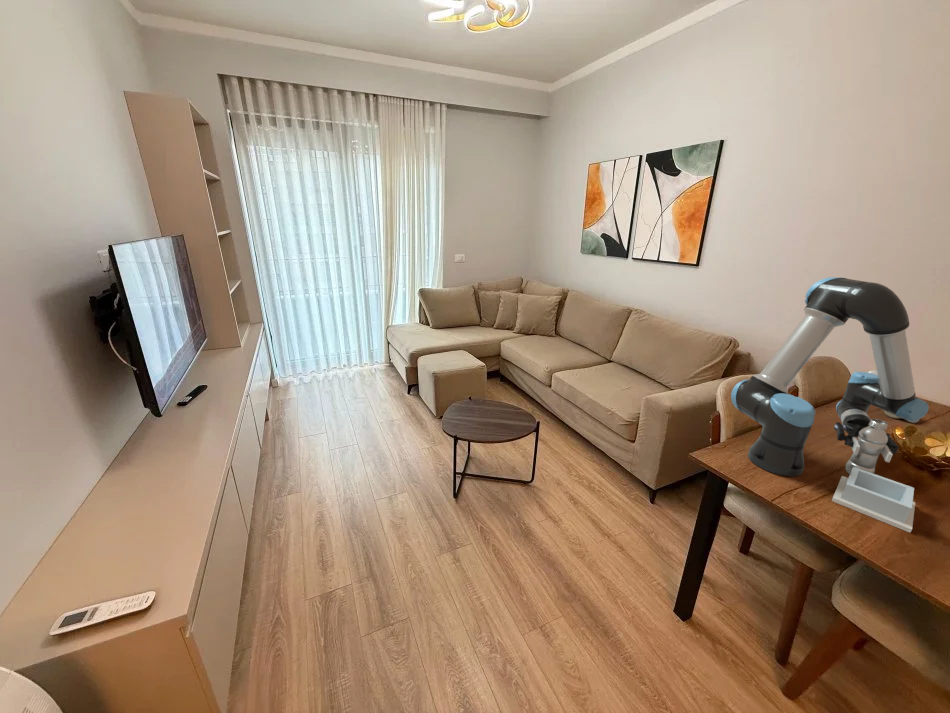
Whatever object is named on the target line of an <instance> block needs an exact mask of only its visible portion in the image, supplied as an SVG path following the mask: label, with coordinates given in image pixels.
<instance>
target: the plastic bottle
mask: <svg viewBox="0 0 950 713" xmlns="http://www.w3.org/2000/svg"><path fill="white" fill-rule="evenodd" d="M870 419H871V421H870V423H869V426H868V427H865V428H863V429H861V430H860V431H859V433H858V437H857V438H856V439H857V441H858V443H859V445H860V449H859V452H858V454H854V452H852V455H851V456H850V458H849V459H848V461H847V462H846V464H845V470H846V472H847V473H848V474H849V475H850V473H851V470H852V468H853V467H856V468H858V469H861V470H864V471H867V472H870V473H873V474H875V472H876V465H877V461H878V458H879V456H880V454H881V450H882V449H883V448H884V446H885V445H886V443H887V441H888V437H887V435H886V431H885V430H887V428H888V425H889V424H888V422H887V421H885V420H882V419H877V418H870Z"/></svg>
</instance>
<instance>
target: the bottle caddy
mask: <svg viewBox="0 0 950 713" xmlns="http://www.w3.org/2000/svg"><path fill="white" fill-rule="evenodd" d="M914 491H915V487H913V486H911V485H906V484H904V483H901V482H899V481H895V480H893V479H890V478H887V477H884V476H881V475H879V474H876V473H874V474H873V473H870V472H867V471H864V470H861V469H858V468H856V467H853V468H852V470H851V473H850V474H849V475H848V477H847V476H844V475H841V477H840V480H839V481H838V485H837V487H836V489H835V492H834V494H833V496H832V499H831V502H833V503H835V504H838V505H840V506H843V507H846V508H847V509H850V510H853V511H856V512H857V513H860V514H863V515H866V516H868V517H870V518H873V519H875V520H877V521H880V522H883V523H884V524H888V525H889V526H892V527H895V528H897V529H899V530H902V531H905V532H908V533H911V532H912V530H913V524H914V518H915V517H914V515H915V507H916V502H915V501H914V495H915V494H914V493H915V492H914Z"/></svg>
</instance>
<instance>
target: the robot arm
mask: <svg viewBox="0 0 950 713" xmlns="http://www.w3.org/2000/svg"><path fill="white" fill-rule="evenodd" d="M804 302H805V305H806V306H805V307H804V308H803V311H804V315H805V316H804V317H803V318H802V319H801V321H800V322H799V323H798V325H797V326H796V327H795V328H794V330H793V331H792V333H790V335H789V336H788V337H787V339H785V341H784V343H783V344H782V345H781V346H780V347H779V349H778V350H777V351H776V353H775V354H774V355H773V357H772V358H771V359H770V360H769V361H768V363H767V364H766V366H765V367H764V368H763V370H762V371H761V372H760V373H756V374H752V376H751V377H750V378H749V379H743V380H742V381H738V382H737V383H736V384H735V385H734V387H733V388H732V391H731V394H730V399H731V403H732V405H733V407H735V408H736V409H737V410H738V411H739V412H740V413H741V414H743V415H746V416H748V417H749V418H750V419H752V420H753V421H755V422H756V423H758V424H759V425H761V426H762V428H761V432H760V435H759V437H758V439H756V441H755V442H754V443H753V444H752V445H751V446H750V447H749V450H748V453H747V458H748V459H749V460H750V461H751V462H752V463H753V464H754V465H756V466H757V467H759V468H760V469H762V470H765V471H768V472H770V473H772V474H776V475H780V476H786V477H797V476H801V475H802V474H803V472H804V470H805V466H806V465H805V460H804V459H805V458H804V447H805V445H806V444H807V440H808V437H809V434H810V431H811V429H812V426H813V424H814V422H815V415H816V409H815V407H814V406H813V405H812V404H811V403H810V402H809V401H807V400H805V399H803V398H802V397H799V396H794V394H789V393H788V388H787V387H788V386H789V384H790V383H791V382H792V380H793V379H794V378H795V377H796V376H797V375H798V374H799V372H800V371H801V369H802V368H803V367H804V366H805V364H807V362H808V361H809V360H810V358H811V357H812V356H813V355H814V353H815V352H816V351H817V350H818V349H819V347H820V346H821V344H822V343H823V342H824V341H825V340H826V339H827V337H828V336H829V335H830V334H831V332H832V331H833V330H834V329H835V328H836V327H841V326H844V325H846V322H848V320H850V319H852V320H856V321H859V322H860V324H862V328H863V330H864V332H865V333H866V334H868V335H869V339H870V343H871V348H872V354H873V357H874V358H873V359H874V363H875V368H876V371H877V373H878V376H877V375H875V374H872V373H868V372H867V371H855V372H853V373H852V374H851V376H850V378H849V380H848V381H847V385H846V387H845V390H844V394H843V396H842V398H841V400H839V401H838V402H837V404H836V405H835V406H836V407H835V411H836V414H837V415H838V417H839V420H840V421H841V422H838V421H837V422H835V424H834V427H833V430H835V431H836V437H837V440H838V441H841V442H842V441H844V444H843V445H845V446H847V447H850V448H851V449H852V453H854V454H858V452H859V449H860V445H859V443H858V441H857V439H858V433H859V431H860V430H861V429H863V428H865V427H868V426H869V423H870V421H871V419H872V418H871V417H870V416H869V415H868V411H869V409H870V407H871V405H872V406H873V407H876V408H879V409H880V410H882V411H884V410H885V411H887V412H889V413H891V414H893V415H896V416H897V417H901V418H900V419H904V420H905V419H906V421H907V420H909V421H915V420H918V419H919V420H920V419H922V418H923V417H925V416H926V415H927V414H928V411H929V409H930V408H929V404H928V403H927V402H926V401H925V400H922V399H921V398H919V397H917V396H916V390H915V383H914V377H913V371H912V365H911V359H910V353H909V346H908V339H907V333H906V330H907V329H909V327H910V320H909V314H908V312H907V310H906V306H905V305H904V304H903V301H902V300H901V298H899V296H898V295H897V294H896V292H894V291H893V290H892V289H890V288H889V287H887V286H886V285H883V284H882V283H878V282H871V281H864V280H857V279H851V278H846V277H833V276H830V277H825V278H822V279H819V280H817V281H816V282H814V283H813V284H812V285H811V286H810V287H809V288H808V290H807V291H806V293H805V299H804ZM879 383H880V384H879ZM909 421H908V422H909ZM845 432H846V433H847V435H845V434H846V433H845ZM885 433H886V432H885ZM886 435H887V437H888V441H887V443H886V445H885V446H884V448H883V449H882V450H881V452H880V454H881V455H882V457H883V459H884V461H885V462H886V463H890V462H891V460H892V457H893V454H894V455H895V454H897V452H898V449H899V447H900V446H899V445H898V444H897V443H896V442H895V441H894V440H893V438H892V437H891V434H890V433H889V432H888V433H886Z"/></svg>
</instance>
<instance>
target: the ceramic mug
mask: <svg viewBox="0 0 950 713" xmlns="http://www.w3.org/2000/svg"><path fill="white" fill-rule="evenodd" d="M883 413H884V414H885V415H886V416H887V417H889V418H891V419H895V420H897V419H899V420H900V419H902V418H901V417H897V416H896V415H893V414H891V413H889V412H887V411H885V410H883ZM904 420H906V419H904ZM906 421H907V422H909V423H912V424H916V423H918V422H920V419H918V420H915V421H909V420H906Z"/></svg>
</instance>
